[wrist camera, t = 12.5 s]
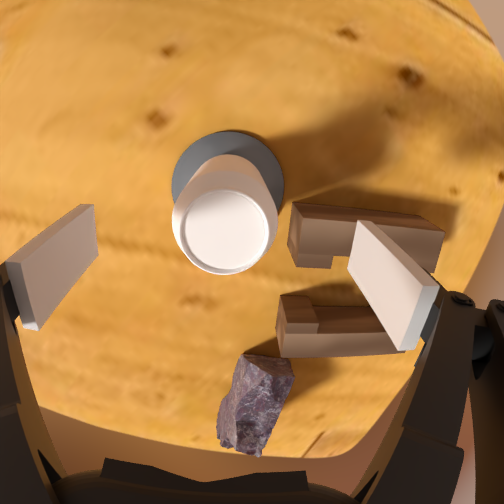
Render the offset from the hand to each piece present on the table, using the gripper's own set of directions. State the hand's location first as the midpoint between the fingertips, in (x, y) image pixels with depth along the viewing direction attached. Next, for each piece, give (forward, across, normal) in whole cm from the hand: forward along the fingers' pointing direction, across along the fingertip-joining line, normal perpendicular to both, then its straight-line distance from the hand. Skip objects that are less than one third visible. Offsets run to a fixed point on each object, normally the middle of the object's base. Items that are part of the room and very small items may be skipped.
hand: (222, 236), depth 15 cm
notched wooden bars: (+14, +13, -9) cm, 21 cm away
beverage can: (+14, 0, -1) cm, 14 cm away
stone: (+14, +3, -25) cm, 29 cm away
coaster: (+14, 0, -1) cm, 14 cm away
